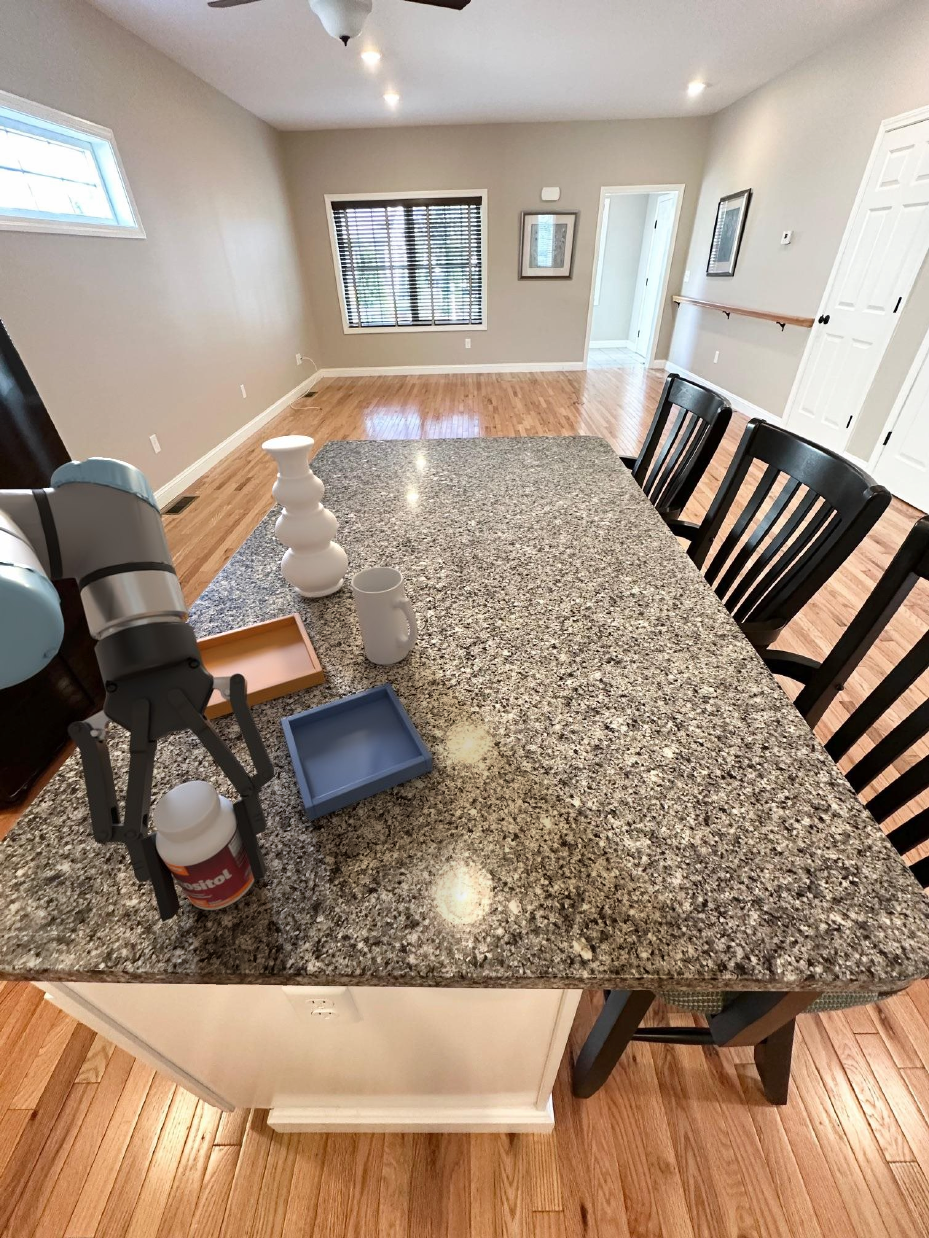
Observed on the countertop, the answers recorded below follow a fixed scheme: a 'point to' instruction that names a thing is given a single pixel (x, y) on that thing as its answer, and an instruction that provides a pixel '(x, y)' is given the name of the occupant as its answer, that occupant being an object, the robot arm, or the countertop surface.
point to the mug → (384, 614)
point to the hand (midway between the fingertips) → (217, 894)
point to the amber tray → (262, 661)
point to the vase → (305, 521)
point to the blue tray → (353, 749)
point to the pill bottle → (202, 845)
